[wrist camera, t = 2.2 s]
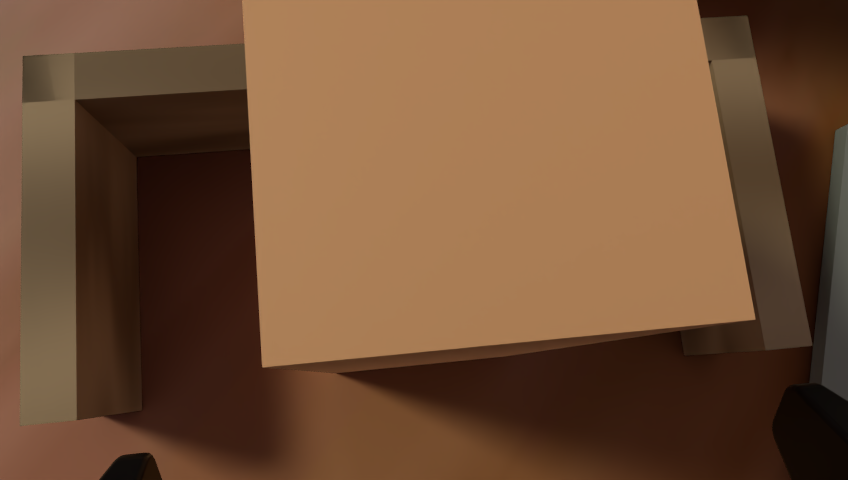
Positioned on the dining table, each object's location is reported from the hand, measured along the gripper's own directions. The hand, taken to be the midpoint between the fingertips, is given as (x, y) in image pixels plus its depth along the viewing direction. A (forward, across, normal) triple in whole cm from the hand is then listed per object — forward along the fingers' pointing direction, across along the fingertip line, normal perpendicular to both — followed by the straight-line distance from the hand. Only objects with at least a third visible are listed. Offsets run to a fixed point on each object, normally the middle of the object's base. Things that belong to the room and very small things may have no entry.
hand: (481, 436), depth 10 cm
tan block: (+10, 0, +5) cm, 11 cm away
